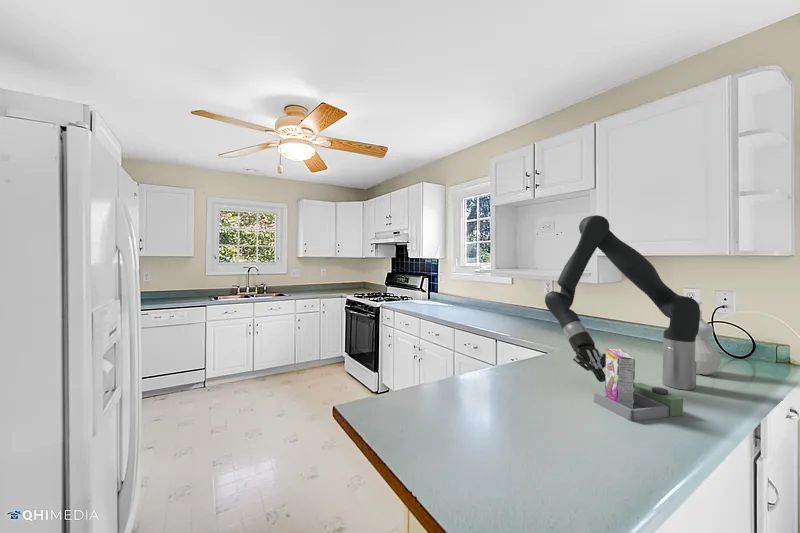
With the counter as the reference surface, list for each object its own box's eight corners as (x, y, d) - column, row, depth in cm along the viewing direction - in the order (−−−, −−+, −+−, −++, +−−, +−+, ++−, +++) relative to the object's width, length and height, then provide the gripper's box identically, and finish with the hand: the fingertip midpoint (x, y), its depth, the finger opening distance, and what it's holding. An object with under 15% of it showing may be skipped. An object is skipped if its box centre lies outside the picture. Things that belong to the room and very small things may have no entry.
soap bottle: (726, 376, 142) (728, 303, 142) (711, 380, 137) (714, 304, 137) (678, 364, 157) (680, 299, 157) (663, 367, 152) (665, 300, 152)
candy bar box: (603, 396, 118) (605, 348, 118) (620, 398, 117) (621, 349, 117) (616, 410, 107) (617, 356, 107) (634, 412, 106) (636, 358, 106)
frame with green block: (640, 397, 118) (641, 379, 118) (682, 415, 104) (683, 395, 104) (594, 402, 113) (594, 383, 113) (631, 421, 100) (632, 400, 100)
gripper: (567, 331, 126) (593, 376, 114) (599, 330, 129) (626, 374, 117) (557, 342, 131) (580, 387, 119) (587, 341, 134) (613, 384, 122)
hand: (603, 380), depth 118 cm, fingers closed
